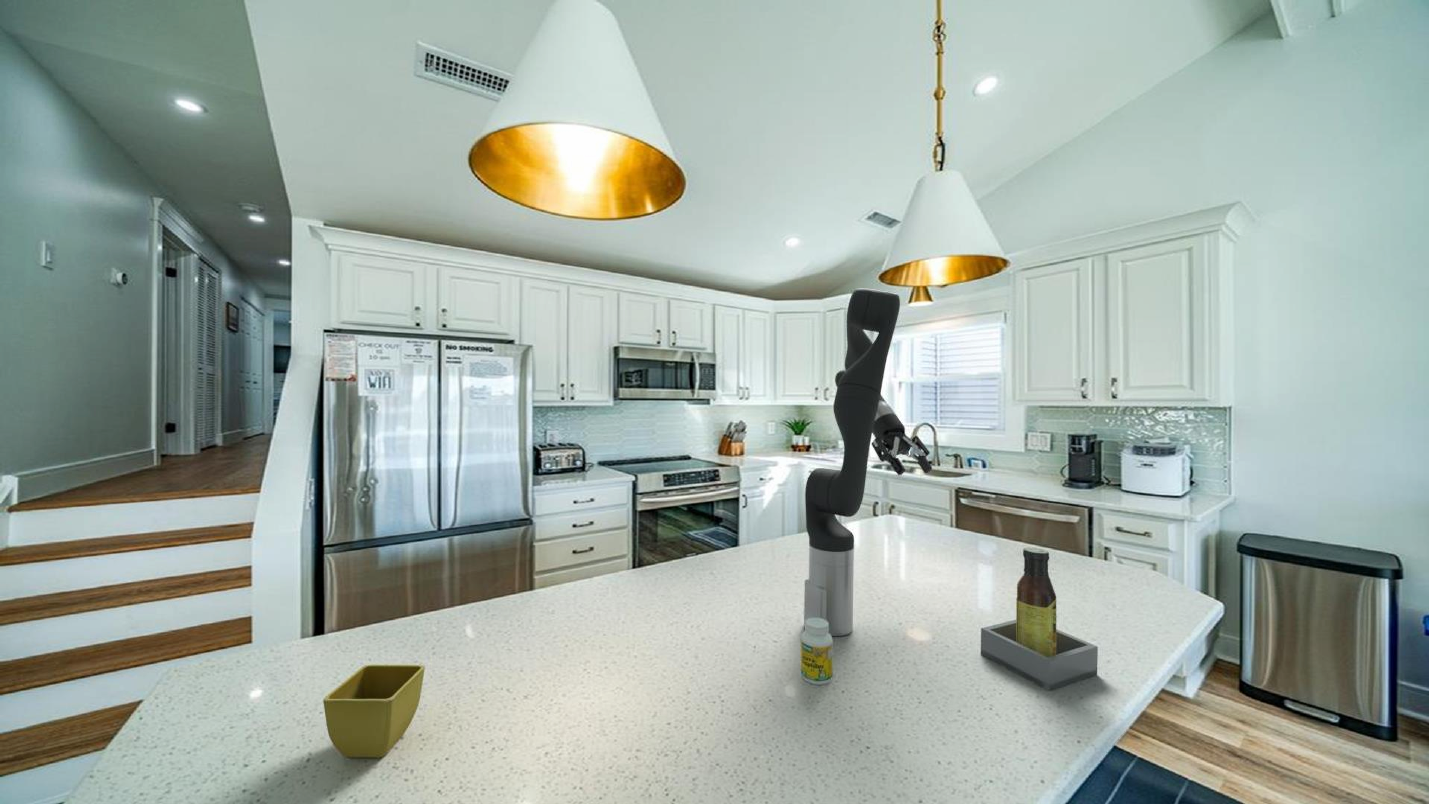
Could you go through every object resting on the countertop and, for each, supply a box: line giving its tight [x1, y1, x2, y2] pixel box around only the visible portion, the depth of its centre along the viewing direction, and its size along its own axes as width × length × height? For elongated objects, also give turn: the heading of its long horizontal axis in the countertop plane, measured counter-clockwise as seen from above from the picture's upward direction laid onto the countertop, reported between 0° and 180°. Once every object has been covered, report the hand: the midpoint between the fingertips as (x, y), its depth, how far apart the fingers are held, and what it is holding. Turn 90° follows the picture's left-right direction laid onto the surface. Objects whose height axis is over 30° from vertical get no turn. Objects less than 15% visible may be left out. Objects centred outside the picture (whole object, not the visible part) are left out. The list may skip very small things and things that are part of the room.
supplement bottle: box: [800, 618, 834, 686], centre depth 88 cm, size 5×5×10 cm
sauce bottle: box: [1015, 546, 1057, 657], centre depth 93 cm, size 6×6×20 cm
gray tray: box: [980, 619, 1099, 692], centre depth 93 cm, size 13×13×5 cm
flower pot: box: [322, 664, 426, 758], centre depth 70 cm, size 9×9×9 cm
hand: (915, 472), depth 123 cm, fingers open, 8 cm apart
